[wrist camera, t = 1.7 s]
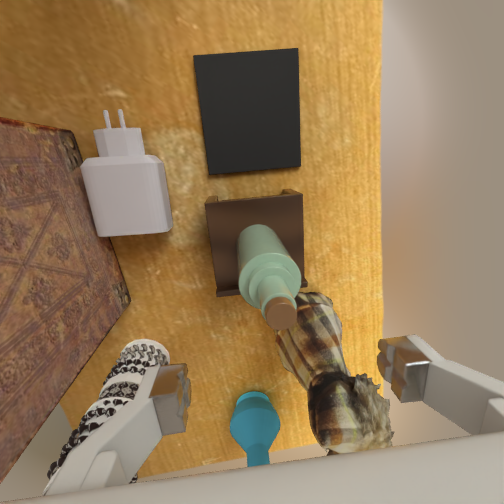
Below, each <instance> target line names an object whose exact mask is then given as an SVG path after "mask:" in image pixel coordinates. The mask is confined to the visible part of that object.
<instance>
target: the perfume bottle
mask: <svg viewBox="0 0 504 504" xmlns="http://www.w3.org/2000/svg"><path fill="white" fill-rule="evenodd" d="M279 430H280V420H279V416H278V414H277V412H276V410H275V409H274V407H273V406H272V404H271V403H270V401H269V398H268V397H267V396H266V395H265V394H264V393H261V392H257V391H252V392H248V393H245V394H243V395H242V396H241V397H240V398H239V399H238V401H237V405H236V407H235V410H234V413H233V415H232V418H231V421H230V433H231V435H232V437H233V438H234V439H235V440H236V442H237V443H238V444H239V445H240V446H241V447H242V448H243V450H244V451H245V452H246V453H247V464H248V467H252V466H259V465H266V464H270V463H269V462H270V461H269V454H268V450H269V448H270V447H271V445H272V443H273V441H274V439H275V438H276V436H277V434H278V432H279Z"/></svg>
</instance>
